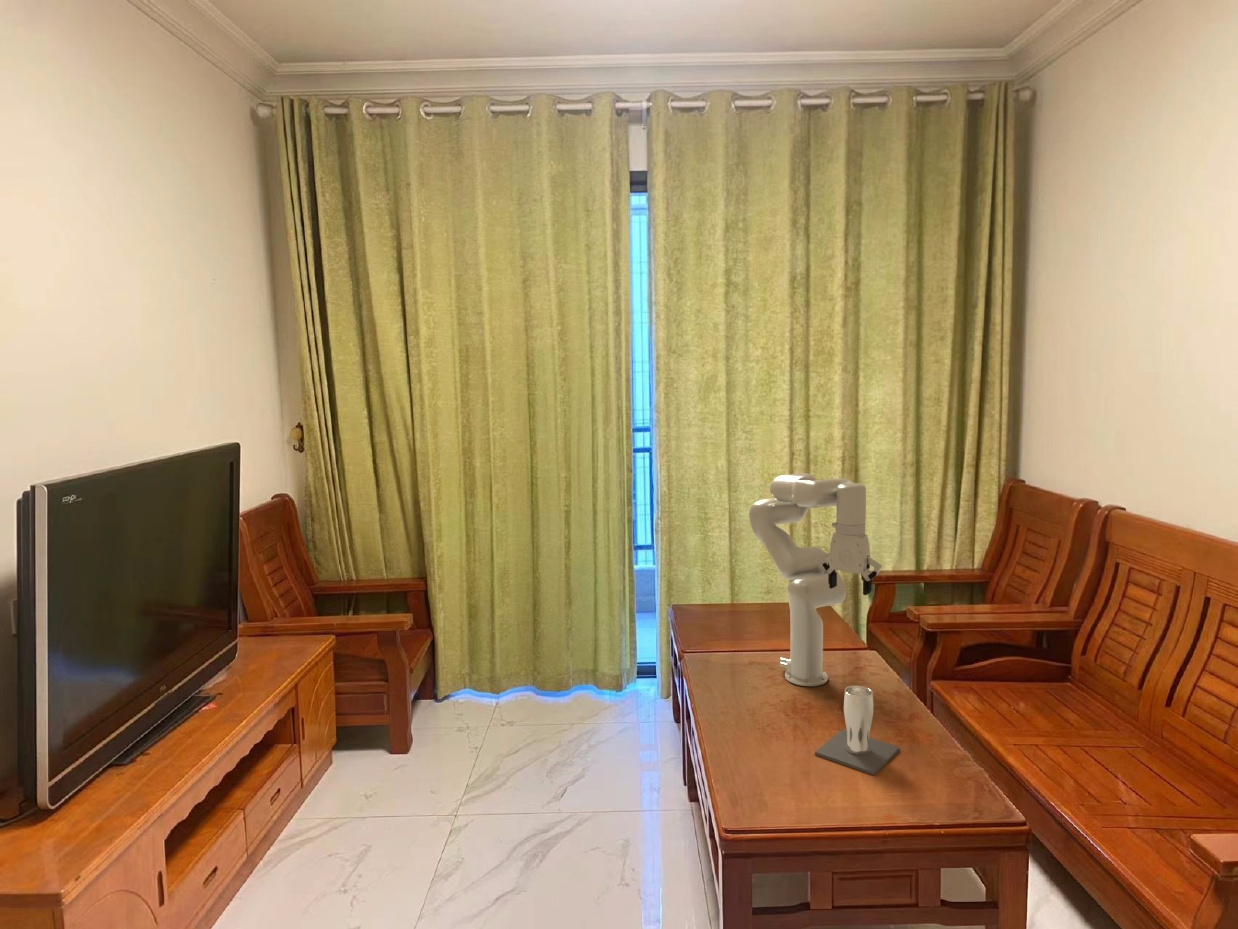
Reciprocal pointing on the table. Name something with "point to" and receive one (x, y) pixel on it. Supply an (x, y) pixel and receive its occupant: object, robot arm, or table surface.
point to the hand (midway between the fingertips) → (849, 590)
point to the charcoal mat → (864, 763)
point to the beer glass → (858, 719)
